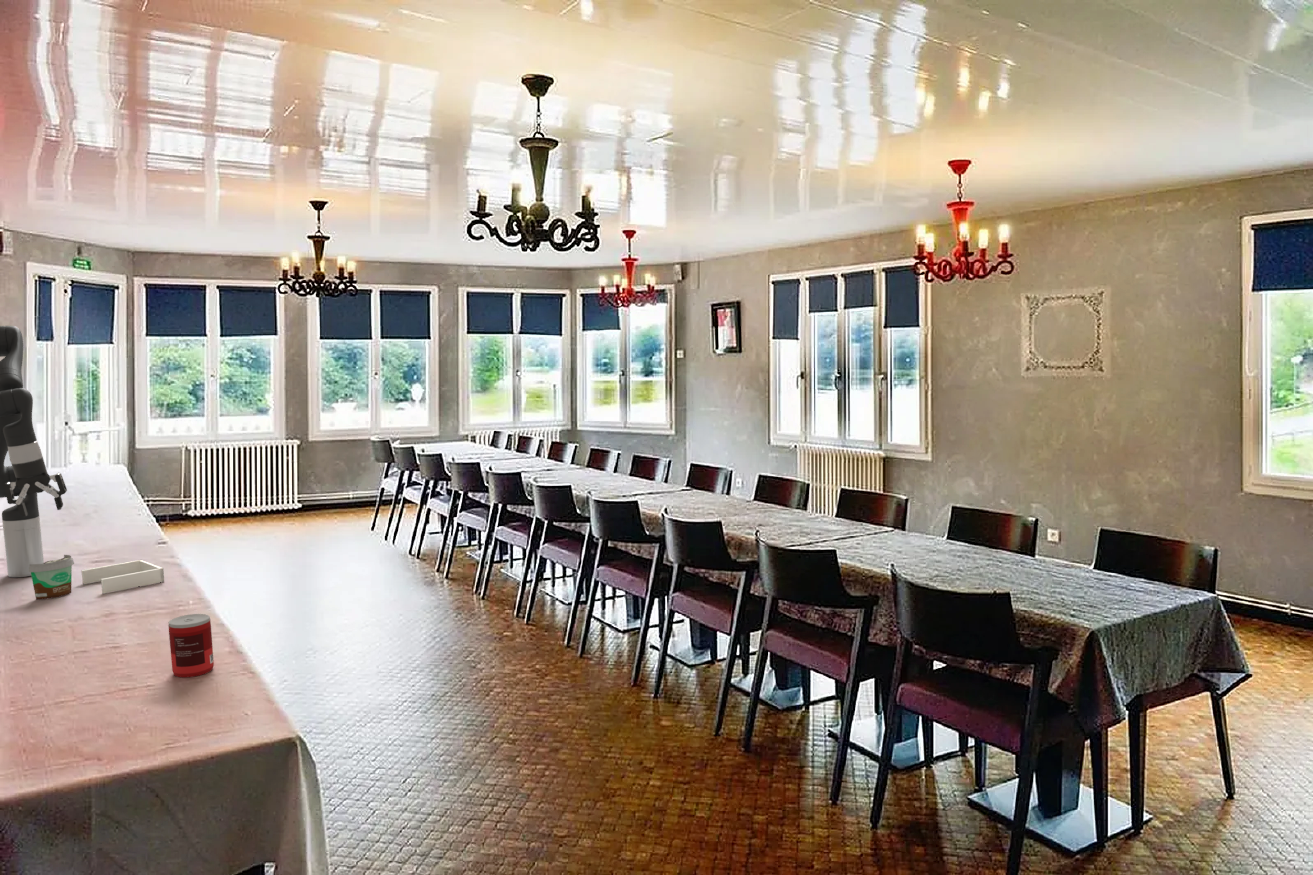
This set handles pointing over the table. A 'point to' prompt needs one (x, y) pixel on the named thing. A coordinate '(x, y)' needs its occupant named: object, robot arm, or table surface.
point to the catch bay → (124, 575)
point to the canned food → (191, 645)
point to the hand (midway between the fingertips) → (42, 512)
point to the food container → (52, 578)
